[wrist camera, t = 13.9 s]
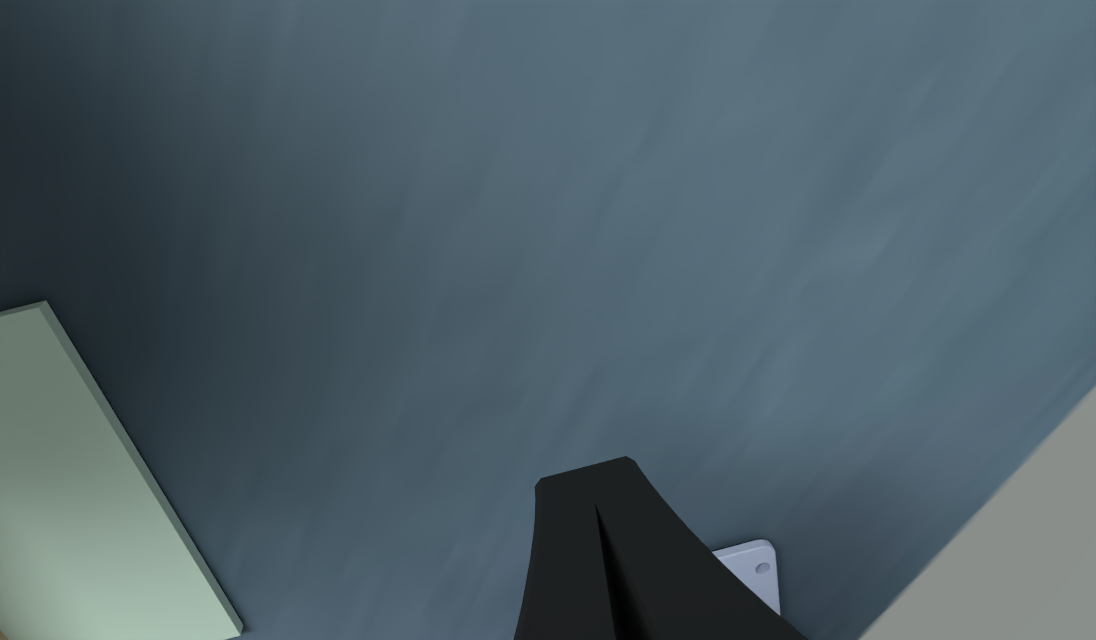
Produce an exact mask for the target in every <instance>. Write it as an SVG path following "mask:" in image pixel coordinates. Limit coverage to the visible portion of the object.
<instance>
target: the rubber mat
mask: <svg viewBox="0 0 1096 640" xmlns="http://www.w3.org/2000/svg"><path fill="white" fill-rule="evenodd" d="M242 628H243V624H242V622H241V620H240V619H239V617H238V615H237V614H236V612H235V610H234V609H233V607H232V606H231V604H230V602H229V601H228V599H227V597H226V596H225V594H224V592H223V591H222V589H221V587H220V586H219V584H218V583H217V581H216V579H215V578H214V576H213V574H212V573H211V571H210V569H209V568H208V566H207V564H206V563H205V561H204V559H203V558H202V556H201V555H200V553H199V551H198V550H197V548H196V546H195V545H194V543H193V541H192V540H191V538H190V536H189V535H188V533H187V531H186V530H185V528H184V527H183V525H182V523H181V522H180V520H179V518H178V517H177V515H176V513H175V512H174V510H173V508H172V507H171V505H170V503H169V502H168V500H167V499H166V497H165V495H164V494H163V492H162V490H161V489H160V487H159V485H158V484H157V482H156V480H155V479H154V477H153V476H152V474H151V472H150V471H149V469H148V467H147V466H146V464H145V462H144V461H143V459H142V457H141V456H140V454H139V452H138V451H137V449H136V448H135V446H134V444H133V443H132V441H131V439H130V438H129V436H128V434H127V433H126V431H125V429H124V428H123V426H122V424H121V423H120V421H119V420H118V418H117V416H116V415H115V413H114V411H113V410H112V408H111V406H110V405H109V403H108V401H107V400H106V398H105V396H104V395H103V393H102V392H101V390H100V388H99V387H98V385H97V383H96V382H95V380H94V378H93V377H92V375H91V373H90V372H89V370H88V369H87V367H86V365H85V364H84V362H83V360H82V359H81V357H80V355H79V354H78V352H77V350H76V349H75V347H74V345H73V344H72V342H71V341H70V339H69V337H68V336H67V334H66V332H65V331H64V329H63V327H62V326H61V324H60V322H59V321H58V319H57V317H56V316H55V314H54V313H53V311H52V309H51V308H50V306H49V304H48V303H47V301H46V300H45V301H41V302H37V303H33V304H29V305H25V306H21V307H17V308H13V309H9V310H5V311H1V312H0V630H1V631H2V633H3V634H4V635H5V636H6V637H7V638H8V640H225V639H229V638H233V637H236V636H240V635H241V632H242Z"/></svg>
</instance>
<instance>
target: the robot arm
mask: <svg viewBox="0 0 1096 640" xmlns="http://www.w3.org/2000/svg"><path fill="white" fill-rule="evenodd" d="M761 563H762V564H761ZM759 564H760V565H759ZM514 640H808V639H807V638H806V637H804V636H803V635H802V634H801V633H800V632H798V631H797V630H796V629H795V628H794V627H792V626H791V625H790V624H789V623H788V622H787V621H785V620H784V619H783V618H782V617H781V616H780V603H779V590H778V578H777V565H776V553H775V550H774V548H773V547H772V545H771V543H770V542H768V541H767V540H763V539H761V540H755V541H751V542H747V543H743V544H740V545H736V546H732V547H728V548H725V549H721V550H717V551H713V552H711V551H710V550H709V549H708V548H707V547H706V546H705V545H704V544H703V543H702V542H701V541H700V540H699V538H698V537H697V536H696V535H695V534H694V533H693V532H692V531H691V530H690V529H689V528H688V527H687V526H686V525H685V524H684V523H683V521H682V520H681V519H680V518H679V517H678V516H677V515H676V514H675V512H674V511H673V510H672V509H671V508H670V507H669V505H668V504H667V503H666V502H665V501H664V500H663V498H662V497H661V496H660V495H659V493H658V492H657V491H656V490H655V488H654V487H653V486H652V485H651V483H650V482H649V481H648V479H647V478H646V477H645V475H644V474H643V472H642V471H641V470H640V468H639V467H638V465H637V463H636V462H635V461H634V460H632V459H631V458H629V457H627V456H625V457H621V458H617V459H613V460H609V461H605V462H602V463H598V464H594V465H590V466H586V467H582V468H579V469H575V470H571V471H567V472H563V473H560V474H556V475H552V476H548V477H544V478H541V479H540V480H539V482H538V483H537V484H536V486H535V523H534V534H533V542H532V549H531V557H530V563H529V569H528V574H527V580H526V585H525V591H524V596H523V602H522V607H521V611H520V616H519V620H518V624H517V628H516V632H515V636H514Z"/></svg>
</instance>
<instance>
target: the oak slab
mask: <svg viewBox="0 0 1096 640" xmlns="http://www.w3.org/2000/svg"><path fill="white" fill-rule="evenodd" d="M0 640H8V638H7V637H6V636H5V635H4V634H3V633H2V631H1V630H0Z"/></svg>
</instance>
